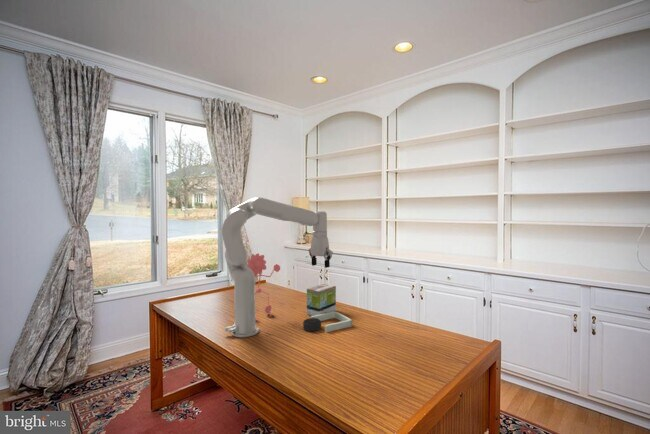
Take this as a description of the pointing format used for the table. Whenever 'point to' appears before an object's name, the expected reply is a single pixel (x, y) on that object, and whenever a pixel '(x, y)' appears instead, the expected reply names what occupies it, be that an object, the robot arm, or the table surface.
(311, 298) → the tea box
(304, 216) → the robot arm
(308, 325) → the smart speaker
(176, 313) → the table surface
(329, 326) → the frame
